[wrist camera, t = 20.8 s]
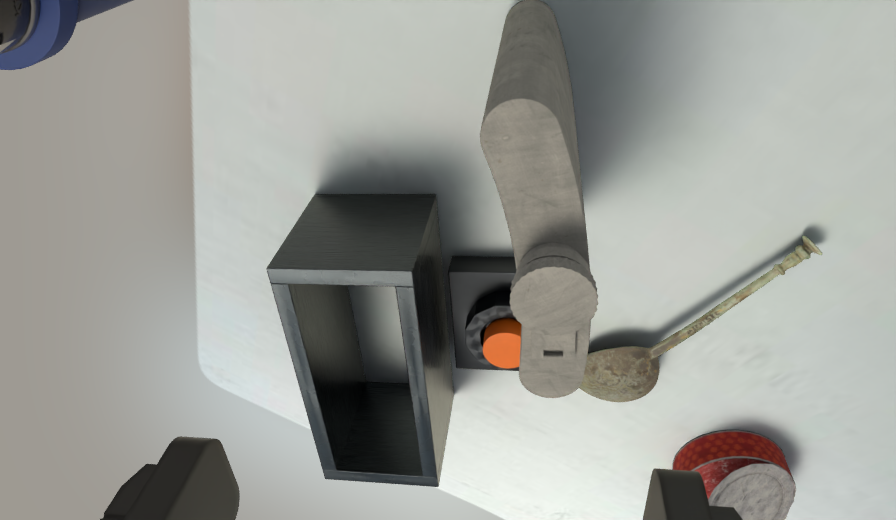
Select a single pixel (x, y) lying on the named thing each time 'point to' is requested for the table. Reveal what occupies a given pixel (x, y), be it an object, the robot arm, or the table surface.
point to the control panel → (478, 304)
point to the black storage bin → (336, 344)
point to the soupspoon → (664, 345)
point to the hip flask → (541, 199)
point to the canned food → (741, 473)
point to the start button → (503, 343)
